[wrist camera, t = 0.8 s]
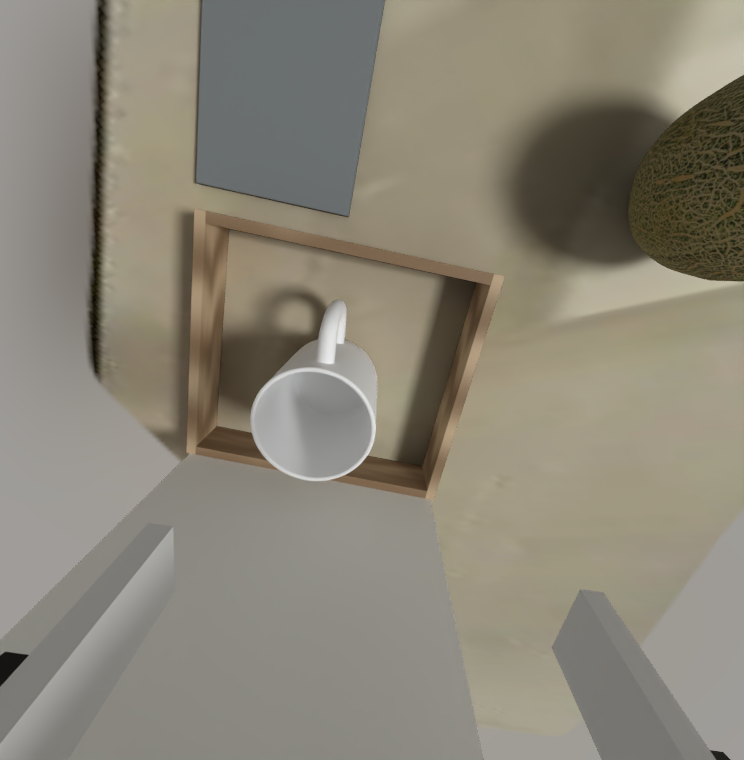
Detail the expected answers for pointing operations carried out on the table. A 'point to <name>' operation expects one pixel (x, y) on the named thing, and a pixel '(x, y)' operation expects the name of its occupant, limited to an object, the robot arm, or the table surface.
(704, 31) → the table surface
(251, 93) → the mat
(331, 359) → the cup
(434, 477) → the frame
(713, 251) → the fruit
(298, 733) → the lid
